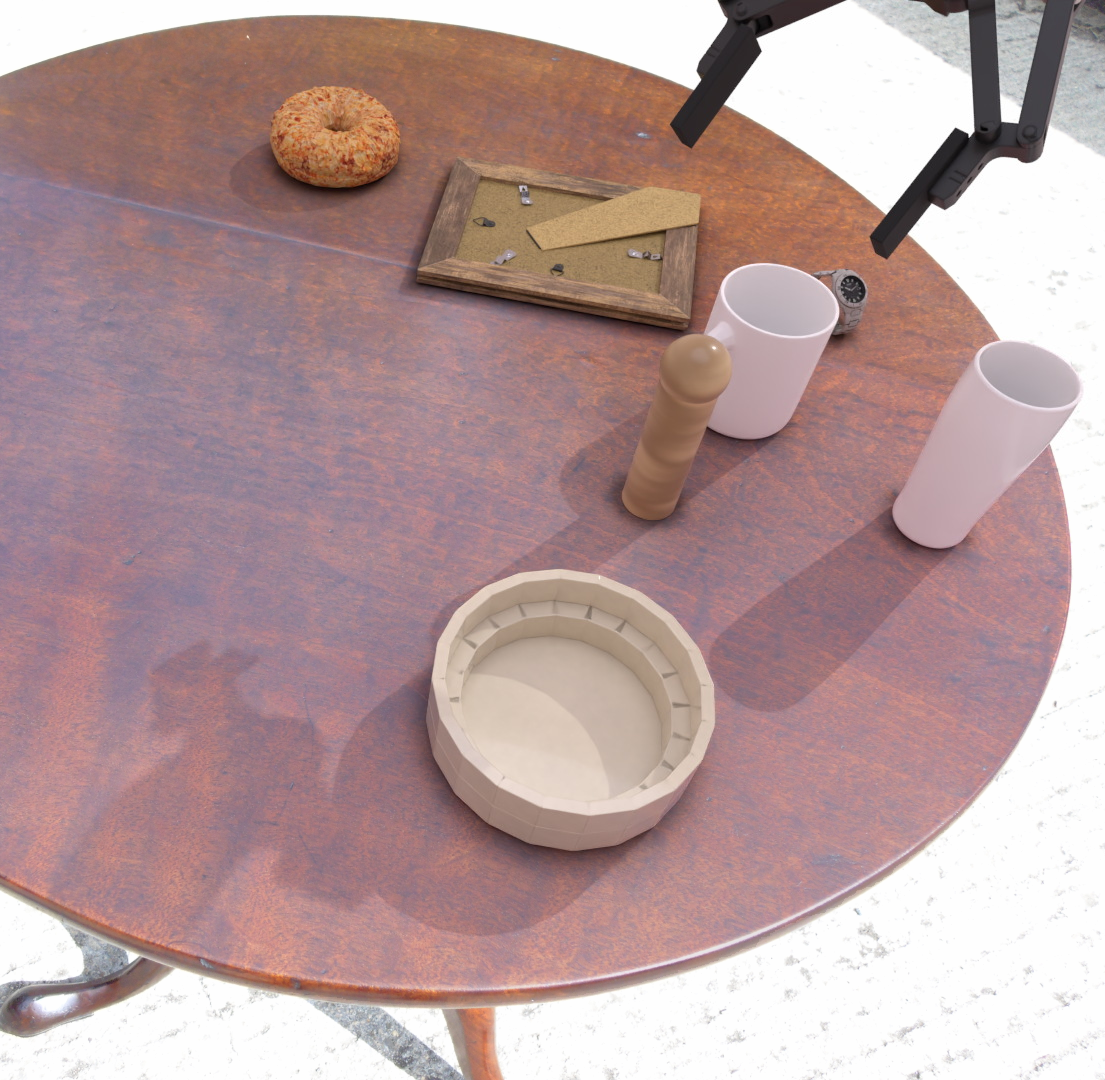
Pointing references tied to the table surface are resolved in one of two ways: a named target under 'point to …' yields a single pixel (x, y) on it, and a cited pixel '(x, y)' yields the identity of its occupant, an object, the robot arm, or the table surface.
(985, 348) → the drinking glass
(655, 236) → the picture frame
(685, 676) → the bowl
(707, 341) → the pestle
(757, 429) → the mug
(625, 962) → the table surface
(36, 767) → the table surface
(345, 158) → the bagel
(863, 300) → the wristwatch
